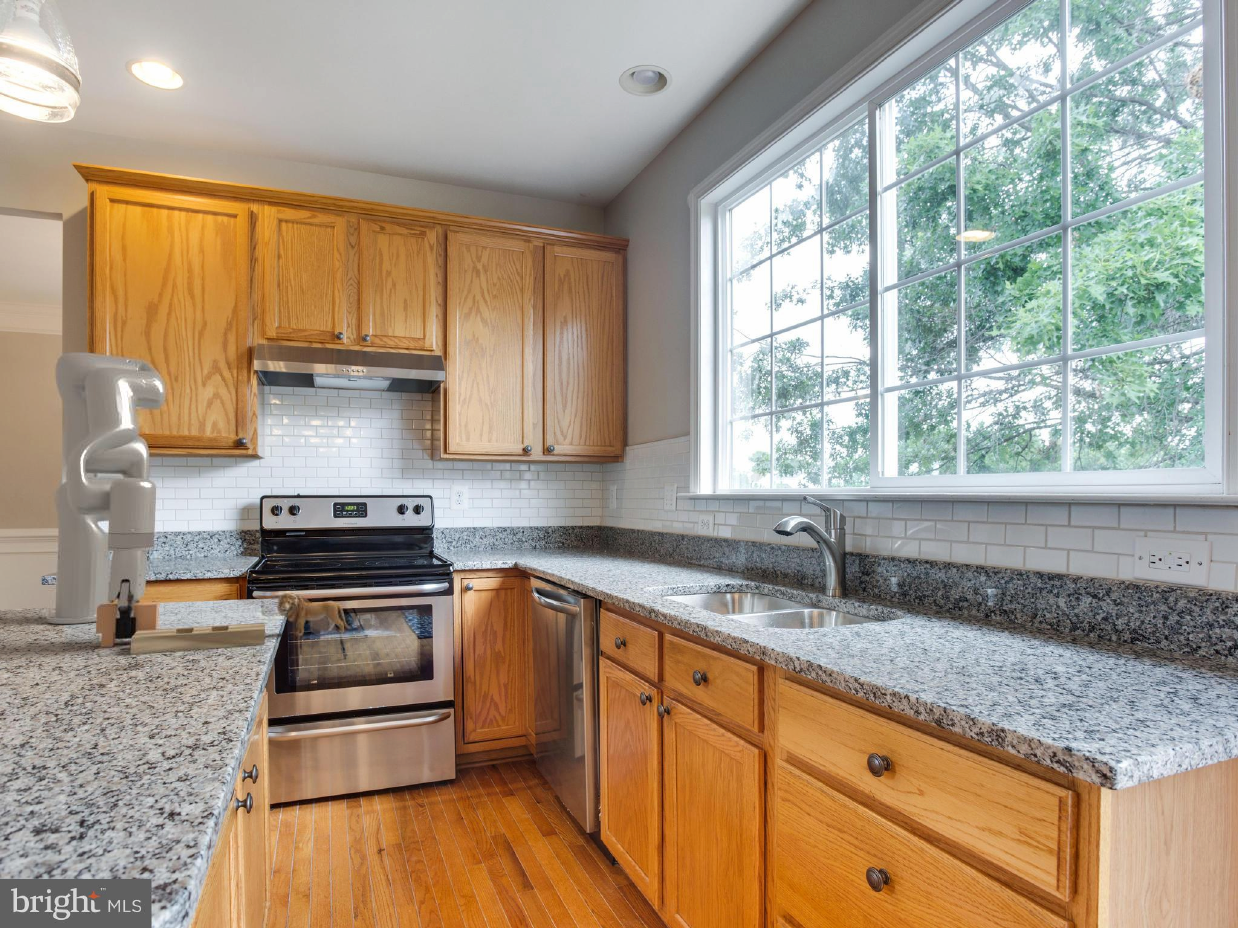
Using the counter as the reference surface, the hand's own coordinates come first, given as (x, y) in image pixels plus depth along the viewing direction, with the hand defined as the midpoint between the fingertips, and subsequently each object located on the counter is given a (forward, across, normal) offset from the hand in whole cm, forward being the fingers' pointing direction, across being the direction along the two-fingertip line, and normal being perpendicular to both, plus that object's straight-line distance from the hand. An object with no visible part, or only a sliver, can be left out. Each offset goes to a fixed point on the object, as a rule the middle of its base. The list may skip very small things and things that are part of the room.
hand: (127, 634), depth 139 cm
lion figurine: (+2, +3, +33) cm, 33 cm away
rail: (+2, +7, +13) cm, 15 cm away
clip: (+2, 0, 0) cm, 2 cm away
